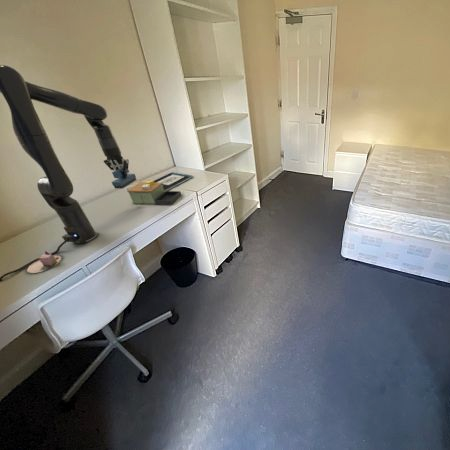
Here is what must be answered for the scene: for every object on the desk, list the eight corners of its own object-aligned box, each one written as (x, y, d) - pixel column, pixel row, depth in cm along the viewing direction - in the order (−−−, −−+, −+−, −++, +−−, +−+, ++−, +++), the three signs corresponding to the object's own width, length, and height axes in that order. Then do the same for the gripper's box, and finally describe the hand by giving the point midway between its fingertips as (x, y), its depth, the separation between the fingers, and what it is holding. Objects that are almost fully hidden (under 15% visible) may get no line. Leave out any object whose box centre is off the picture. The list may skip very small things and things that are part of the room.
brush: (129, 179, 151) (123, 165, 147) (137, 179, 151) (131, 165, 146) (114, 188, 141) (107, 173, 136) (122, 188, 141) (115, 173, 136)
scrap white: (148, 189, 157) (147, 186, 156) (142, 190, 156) (141, 187, 155) (150, 187, 160) (149, 184, 159) (144, 187, 160) (143, 184, 159)
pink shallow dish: (68, 255, 119) (62, 248, 117) (45, 273, 109) (38, 266, 107) (44, 255, 120) (38, 247, 118) (19, 273, 110) (12, 265, 108)
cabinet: (155, 204, 159) (150, 191, 154) (131, 204, 161) (126, 191, 156) (166, 195, 171) (162, 182, 165) (144, 194, 172) (139, 182, 167)
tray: (171, 204, 159) (169, 200, 157) (155, 204, 160) (154, 200, 158) (181, 195, 170) (180, 191, 168) (167, 195, 171) (165, 191, 169)
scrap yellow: (149, 186, 161) (148, 183, 160) (145, 185, 163) (144, 182, 161) (154, 183, 164) (153, 180, 163) (150, 182, 166) (149, 180, 164)
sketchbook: (139, 189, 180) (138, 186, 179) (172, 173, 203) (172, 171, 202) (162, 193, 173) (161, 190, 172) (193, 177, 196) (193, 174, 195)
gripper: (92, 148, 132) (106, 179, 141) (116, 148, 130) (130, 179, 140) (102, 144, 138) (116, 174, 148) (126, 144, 137) (138, 174, 146)
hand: (123, 176), depth 144 cm, fingers closed on brush, 2 cm apart
